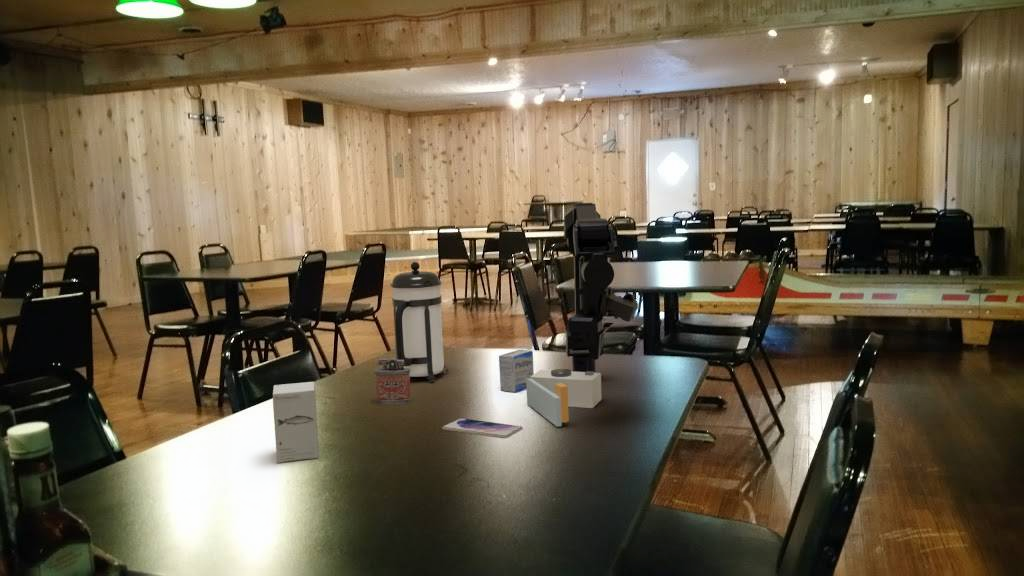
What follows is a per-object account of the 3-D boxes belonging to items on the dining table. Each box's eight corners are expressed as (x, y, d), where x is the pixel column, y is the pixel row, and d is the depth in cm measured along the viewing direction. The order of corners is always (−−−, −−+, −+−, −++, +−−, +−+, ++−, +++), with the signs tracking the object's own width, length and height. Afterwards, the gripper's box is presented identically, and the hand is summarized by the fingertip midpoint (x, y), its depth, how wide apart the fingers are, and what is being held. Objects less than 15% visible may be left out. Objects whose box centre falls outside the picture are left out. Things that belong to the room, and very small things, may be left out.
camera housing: (541, 395, 165) (540, 366, 165) (601, 399, 160) (600, 369, 159) (530, 403, 159) (529, 373, 158) (592, 408, 154) (591, 376, 153)
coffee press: (381, 376, 191) (374, 262, 188) (439, 368, 198) (433, 258, 194) (400, 390, 175) (392, 266, 172) (461, 381, 182) (456, 262, 179)
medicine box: (515, 393, 169) (513, 356, 168) (499, 390, 171) (498, 354, 170) (534, 385, 175) (533, 350, 174) (519, 383, 178) (518, 348, 177)
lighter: (413, 399, 167) (410, 356, 166) (409, 403, 163) (407, 359, 162) (379, 400, 168) (376, 357, 166) (374, 404, 164) (372, 360, 163)
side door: (537, 401, 159) (536, 367, 158) (568, 424, 142) (567, 386, 141) (526, 403, 159) (525, 368, 158) (556, 426, 141) (555, 387, 140)
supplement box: (276, 464, 127) (270, 393, 126) (278, 451, 134) (272, 384, 133) (319, 458, 129) (314, 389, 128) (319, 446, 136) (314, 380, 135)
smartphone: (460, 417, 150) (524, 426, 142) (460, 421, 150) (524, 430, 142) (440, 426, 143) (505, 436, 136) (440, 431, 144) (505, 440, 136)
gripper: (622, 289, 134) (623, 372, 136) (643, 277, 151) (645, 351, 153) (564, 289, 138) (567, 369, 140) (592, 277, 155) (594, 348, 157)
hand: (595, 359), depth 148 cm, fingers closed
